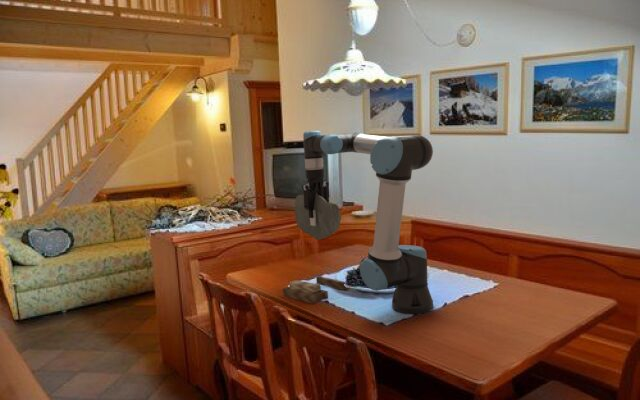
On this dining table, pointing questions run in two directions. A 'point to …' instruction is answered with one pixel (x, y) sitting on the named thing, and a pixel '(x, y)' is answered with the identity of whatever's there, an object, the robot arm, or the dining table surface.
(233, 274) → the dining table surface
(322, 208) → the rock
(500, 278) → the dining table surface
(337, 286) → the walnut rack
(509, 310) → the dining table surface
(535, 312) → the dining table surface
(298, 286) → the offcut stack
